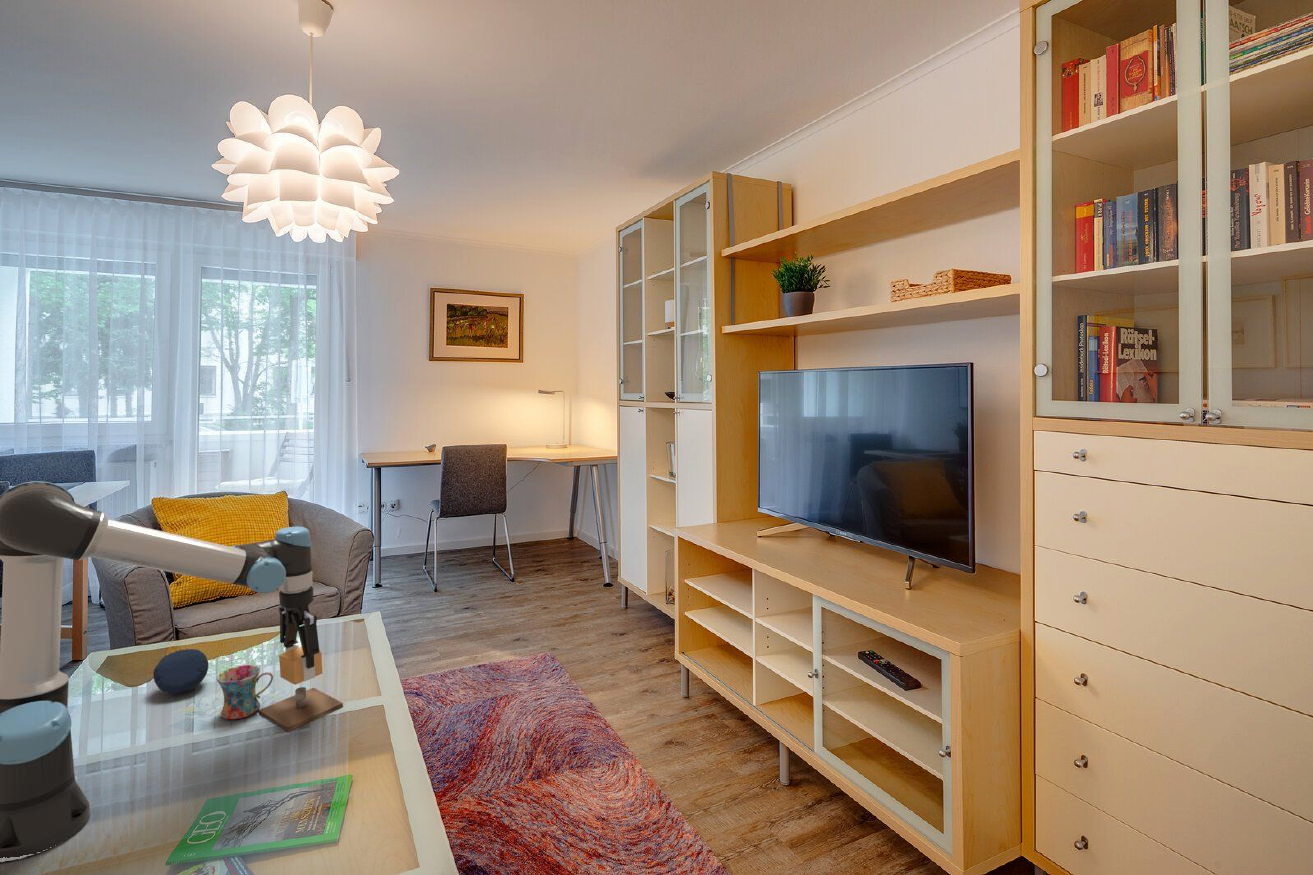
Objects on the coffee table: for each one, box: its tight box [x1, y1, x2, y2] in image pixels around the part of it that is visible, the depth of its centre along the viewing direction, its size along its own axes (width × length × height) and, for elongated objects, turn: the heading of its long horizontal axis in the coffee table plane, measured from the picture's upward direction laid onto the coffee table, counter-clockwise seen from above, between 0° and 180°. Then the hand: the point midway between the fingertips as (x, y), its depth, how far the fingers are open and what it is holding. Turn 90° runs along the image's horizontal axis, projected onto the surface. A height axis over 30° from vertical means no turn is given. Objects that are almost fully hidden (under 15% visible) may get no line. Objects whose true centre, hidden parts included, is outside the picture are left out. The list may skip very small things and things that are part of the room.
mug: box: [216, 664, 274, 720], centre depth 163 cm, size 12×9×11 cm
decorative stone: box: [153, 648, 209, 695], centre depth 173 cm, size 12×12×10 cm
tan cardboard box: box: [278, 646, 323, 685], centre depth 163 cm, size 7×7×6 cm
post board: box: [258, 686, 344, 732], centre depth 164 cm, size 14×14×6 cm
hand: (301, 674), depth 164 cm, fingers closed on tan cardboard box, 7 cm apart
